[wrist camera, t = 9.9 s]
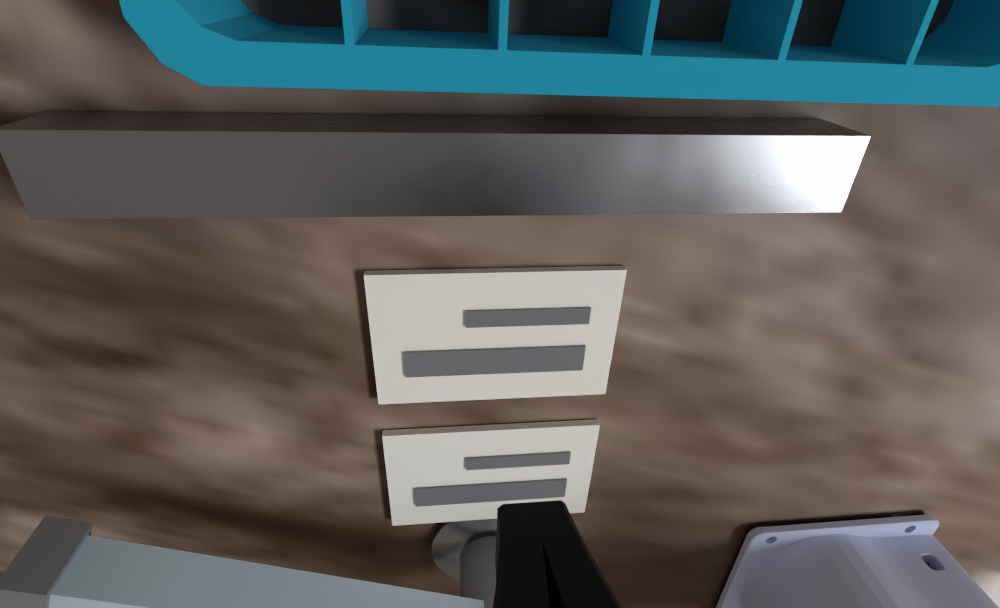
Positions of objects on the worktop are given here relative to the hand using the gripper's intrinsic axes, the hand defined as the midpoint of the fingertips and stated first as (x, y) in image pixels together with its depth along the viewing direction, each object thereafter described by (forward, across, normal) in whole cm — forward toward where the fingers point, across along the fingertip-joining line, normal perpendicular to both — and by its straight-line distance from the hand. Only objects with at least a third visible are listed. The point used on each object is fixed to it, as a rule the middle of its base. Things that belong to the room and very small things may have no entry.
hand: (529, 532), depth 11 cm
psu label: (+7, 0, 0) cm, 7 cm away
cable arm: (+7, +6, +8) cm, 12 cm away
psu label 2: (+7, 0, +6) cm, 10 cm away
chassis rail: (+7, +1, -6) cm, 10 cm away
